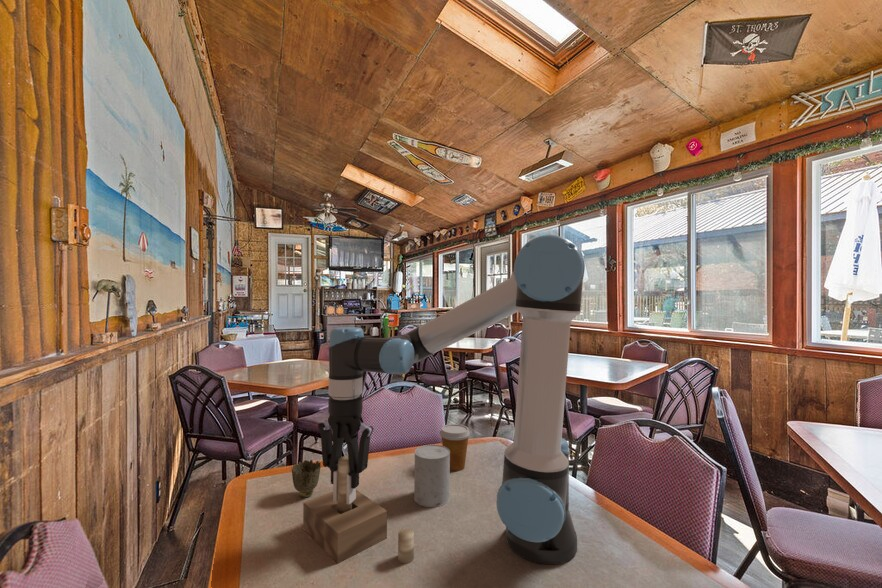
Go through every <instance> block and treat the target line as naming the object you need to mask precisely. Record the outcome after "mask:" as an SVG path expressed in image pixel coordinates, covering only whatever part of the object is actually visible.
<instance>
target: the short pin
mask: <svg viewBox="0 0 882 588" xmlns="http://www.w3.org/2000/svg"><path fill="white" fill-rule="evenodd" d="M397 534H398V536H397V537H398V538H397V539H398V540H397V545H398V546H397V560H398V562H400V563H401V564H404V565H405V564H409V563H411V562H413V561H414V558H415V555H414V554H415V553H414V551H415V550H414V549H415V533H414V531H413V529H410V528H404V529H401V530H400V531H398V533H397Z"/></svg>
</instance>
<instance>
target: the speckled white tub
mask: <svg viewBox="0 0 882 588" xmlns="http://www.w3.org/2000/svg"><path fill="white" fill-rule="evenodd" d="M450 471H451V470H450V450H449V449H448V448H446V447H444V446H443V445H442V444H441V445H440V444H426V445H421V446H418V447H417V448H415V450H414V490H413V491H414V493H413V494H414V495H413V500H414V502H415V503H416V504H418V505H419V506H421V507H425V508H438V507H442V506H444V505H446V504H447V503H449V501H450V497H451V495H450V485H451V483H450Z"/></svg>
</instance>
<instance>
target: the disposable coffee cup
mask: <svg viewBox="0 0 882 588" xmlns="http://www.w3.org/2000/svg"><path fill="white" fill-rule="evenodd" d="M470 432H471V431H470V429H469V427H468V426H466V425H464V424H457V423H454V424H453V423H451V424H446V425H443V426H442V427H441V429H440V431H439V434H440V437H441V443H442V444H441V446H444V447H446V448H448V449H449V450H450V471H453V472H458V471H462V470H464V469H465V467H466V458H467V451H468V450H467V449H468V444H469V443H468V442H469V437H470V435H471V433H470Z"/></svg>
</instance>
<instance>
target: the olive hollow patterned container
mask: <svg viewBox="0 0 882 588" xmlns="http://www.w3.org/2000/svg"><path fill="white" fill-rule="evenodd" d="M321 465H322V463H321V462H319V460H316V462H313V459H310V461H309V460H305V459H304V460H303V461H299V462H298V463H295V464H293V466H292V467H291V475H292V477H291V478H292V483H293V487H294V489H295V490H296V491H298V496H299V497H300V498H309V497H311V496H312V495H313V493H314V489H316V487H317V486H318V483H319V481H320V474H321V473H320V472H321Z"/></svg>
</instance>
